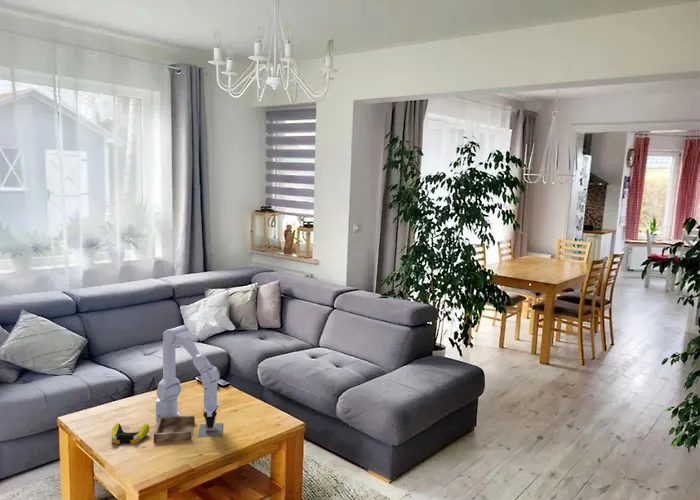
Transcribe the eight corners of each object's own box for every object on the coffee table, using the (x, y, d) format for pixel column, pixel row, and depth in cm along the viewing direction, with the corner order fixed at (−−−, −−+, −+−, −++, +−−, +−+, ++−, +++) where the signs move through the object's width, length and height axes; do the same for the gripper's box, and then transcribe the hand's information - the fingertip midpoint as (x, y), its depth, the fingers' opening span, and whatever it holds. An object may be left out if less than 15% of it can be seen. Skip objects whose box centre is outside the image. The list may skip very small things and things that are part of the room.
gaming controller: (115, 434, 227) (106, 445, 217) (114, 422, 226) (105, 433, 216) (150, 433, 228) (143, 445, 218) (150, 421, 227) (143, 432, 217)
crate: (153, 443, 220) (153, 434, 219) (159, 425, 235) (159, 417, 235) (191, 441, 223) (191, 432, 222) (194, 423, 238) (194, 415, 238)
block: (205, 431, 229) (205, 418, 229) (206, 426, 233) (206, 414, 232) (214, 430, 230) (214, 417, 229) (215, 426, 234) (215, 413, 233)
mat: (197, 438, 225) (197, 437, 225) (200, 425, 237) (200, 424, 237) (221, 436, 227) (221, 435, 227) (222, 424, 239) (222, 423, 239)
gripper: (219, 402, 223) (219, 432, 225) (220, 388, 238) (220, 417, 239) (201, 403, 222) (202, 433, 224) (204, 389, 236) (204, 418, 238)
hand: (210, 425), depth 231 cm, fingers closed on block, 4 cm apart
